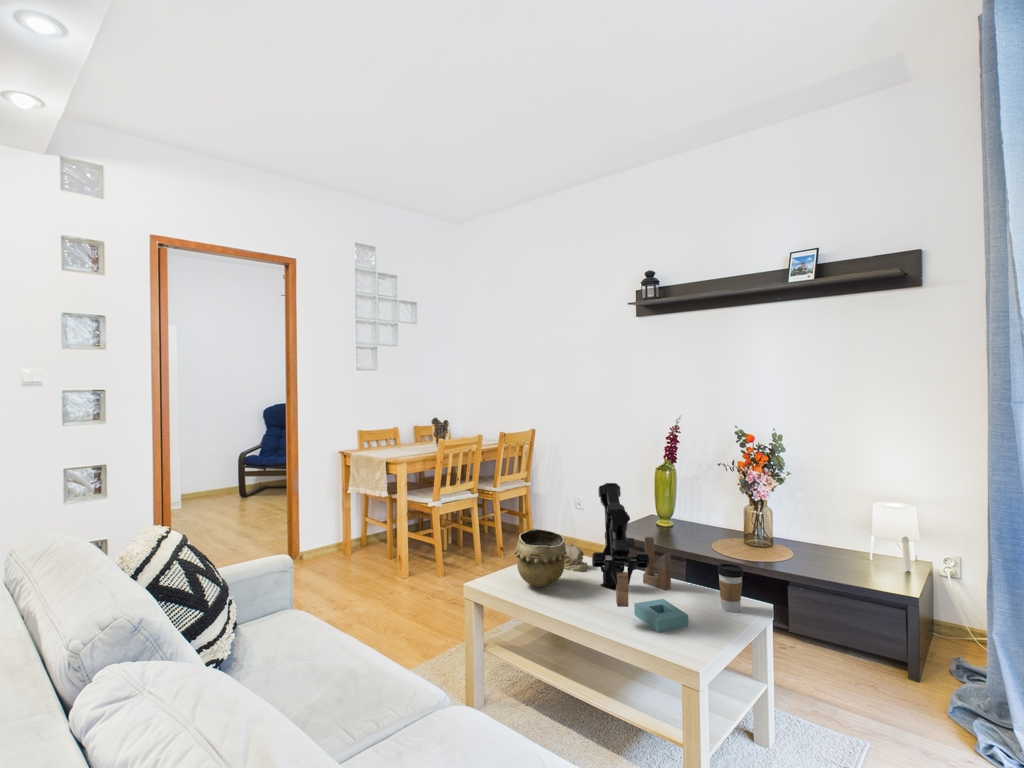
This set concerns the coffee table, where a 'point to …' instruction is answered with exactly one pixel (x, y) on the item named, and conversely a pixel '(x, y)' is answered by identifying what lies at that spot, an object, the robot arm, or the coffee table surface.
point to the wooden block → (657, 567)
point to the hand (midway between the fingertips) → (622, 584)
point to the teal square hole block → (661, 615)
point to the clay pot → (540, 557)
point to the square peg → (622, 589)
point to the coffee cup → (730, 586)
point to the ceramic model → (574, 558)
